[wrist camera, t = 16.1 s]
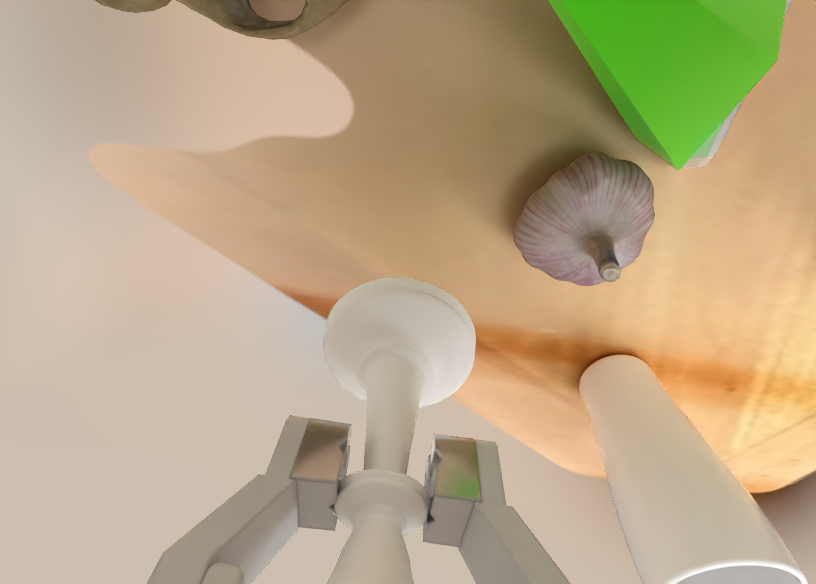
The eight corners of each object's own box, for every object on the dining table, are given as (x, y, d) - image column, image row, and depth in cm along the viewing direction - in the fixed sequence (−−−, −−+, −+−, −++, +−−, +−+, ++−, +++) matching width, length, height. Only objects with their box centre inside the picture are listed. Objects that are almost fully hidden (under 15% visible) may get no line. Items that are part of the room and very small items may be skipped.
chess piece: (492, 377, 15) (571, 865, 6) (361, 408, 16) (274, 854, 7) (448, 256, 12) (477, 771, 4) (298, 302, 13) (61, 776, 5)
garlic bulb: (505, 264, 28) (529, 338, 21) (511, 149, 24) (542, 194, 17) (625, 260, 27) (689, 335, 20) (650, 141, 24) (740, 184, 17)
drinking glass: (584, 420, 35) (671, 642, 22) (553, 364, 32) (633, 582, 19) (670, 391, 33) (821, 617, 20) (645, 329, 30) (803, 546, 17)
